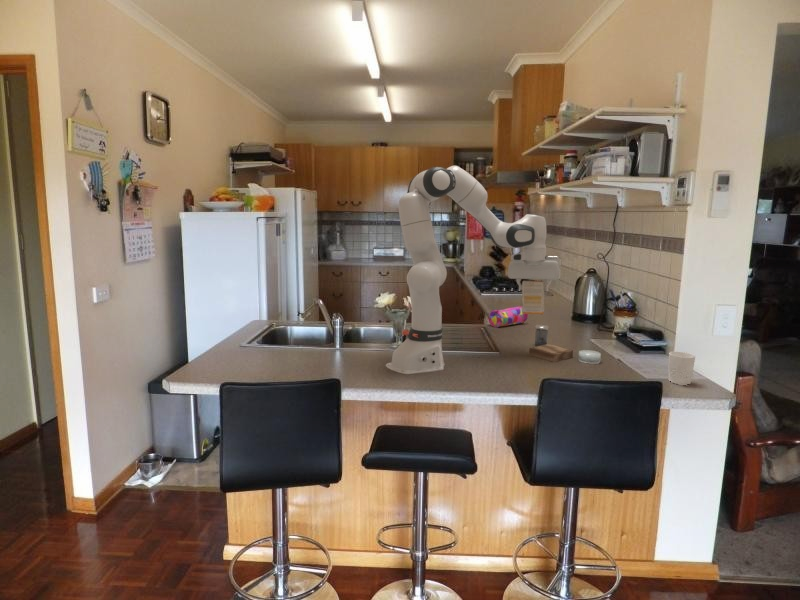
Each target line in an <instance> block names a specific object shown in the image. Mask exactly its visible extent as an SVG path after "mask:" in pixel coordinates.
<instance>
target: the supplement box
mask: <svg viewBox="0 0 800 600" xmlns="http://www.w3.org/2000/svg"><path fill="white" fill-rule="evenodd" d="M521 285H522V290H521V291H522V292H521V293H522V294H521V295H522V297H521V299H522V300H521V302H522V306H521V307H522V314H528V315H544V313H545V291H544V286H545V280H538V279H523V280H522V283H521Z"/></svg>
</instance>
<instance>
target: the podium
mask: <svg viewBox="0 0 800 600" xmlns="http://www.w3.org/2000/svg"><path fill="white" fill-rule="evenodd" d="M528 350H529V351H528V355H529V356H531V357H536V358H539V359H543V360H545V361H546V360H547V361H550V362H554V363H555V362H558V361H563V360H567V359H571V358H573V355H574V350H573V349H569V348H565V347H562V346H557V345H553V344H549V343H547V344H546V345H542V346H537V347H536V346H534V347H529V348H528Z"/></svg>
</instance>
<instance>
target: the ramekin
mask: <svg viewBox="0 0 800 600" xmlns="http://www.w3.org/2000/svg"><path fill="white" fill-rule="evenodd" d="M601 356H602V354H601V352H599V351H597V350H596V351H595V350H589V349H582V350H579V351H578V361H579V362H581V363H584V364H589V365H598V364H600V363H601Z"/></svg>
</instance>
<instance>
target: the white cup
mask: <svg viewBox="0 0 800 600" xmlns="http://www.w3.org/2000/svg"><path fill="white" fill-rule="evenodd" d="M695 360H696V355H695V354H694V353H690V352H685V351H676V350H675V351H670V352H669V353H668V365H667V366H668V367H667V369H668V371H667V372H668V373H667V374H668V378H667V380H669V381H671V382H674V383H678V384H690V385H691V382H692V377H693V372H694V366H695ZM669 381H668V382H669Z"/></svg>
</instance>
